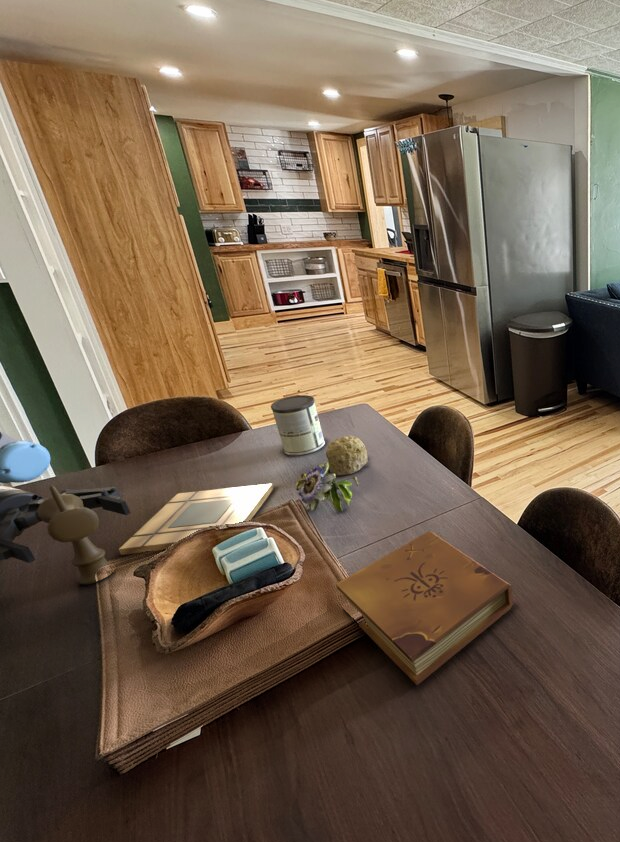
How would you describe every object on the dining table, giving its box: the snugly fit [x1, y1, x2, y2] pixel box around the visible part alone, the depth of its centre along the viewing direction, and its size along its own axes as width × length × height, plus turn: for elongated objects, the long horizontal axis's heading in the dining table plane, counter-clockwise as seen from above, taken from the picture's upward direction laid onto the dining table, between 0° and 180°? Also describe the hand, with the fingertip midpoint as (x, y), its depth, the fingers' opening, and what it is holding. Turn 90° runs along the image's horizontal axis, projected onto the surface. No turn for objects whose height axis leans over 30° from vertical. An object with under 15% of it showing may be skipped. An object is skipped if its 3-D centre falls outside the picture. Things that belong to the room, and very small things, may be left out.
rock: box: [325, 435, 369, 476], centre depth 125 cm, size 10×11×10 cm
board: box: [118, 483, 275, 556], centre depth 104 cm, size 20×20×2 cm
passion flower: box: [295, 461, 360, 512], centre depth 109 cm, size 11×11×12 cm
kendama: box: [38, 485, 110, 585], centre depth 84 cm, size 6×10×20 cm, turn 57°
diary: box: [335, 530, 514, 686], centre depth 81 cm, size 23×19×6 cm
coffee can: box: [270, 394, 326, 456], centre depth 133 cm, size 10×10×14 cm
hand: (81, 530), depth 84 cm, fingers open, 13 cm apart
